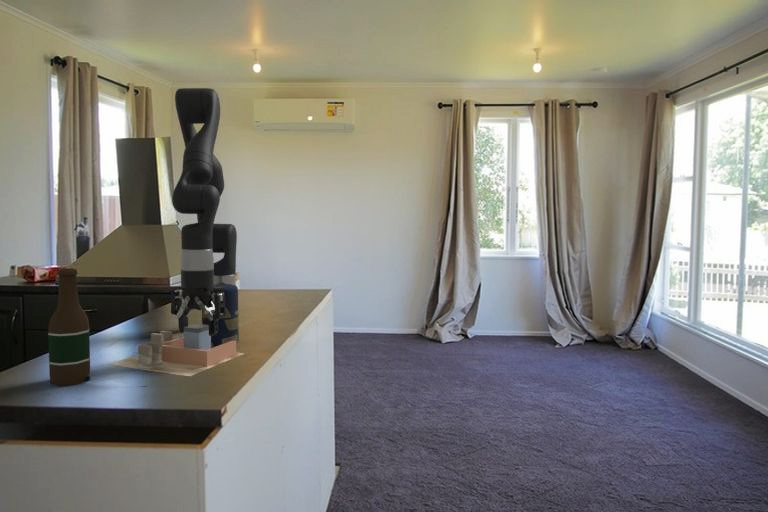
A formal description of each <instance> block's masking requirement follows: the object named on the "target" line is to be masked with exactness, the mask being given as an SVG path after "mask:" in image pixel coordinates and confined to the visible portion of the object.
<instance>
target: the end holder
mask: <svg viewBox="0 0 768 512" xmlns="http://www.w3.org/2000/svg"><path fill="white" fill-rule="evenodd" d="M239 353H240V352H239V351H237V344H236V341H230V342H227V343H224V344H222V345H219V346H216V347H211V349H208V350H202V349H194V348H186V347H184V335H183V336H180V337H177V338H174V339H173V338H172V340H170V341H167V342H163V343H162V361H166V362H174V363H181V364H189V365H196V366H204V367H208V366H211V365H213V364H216V363H218V362H221V361H223V360H226V359H228V358H230V357H233V356H235V355H238V354H239Z"/></svg>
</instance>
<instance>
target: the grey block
mask: <svg viewBox="0 0 768 512" xmlns="http://www.w3.org/2000/svg"><path fill="white" fill-rule="evenodd" d="M183 336H184V347H186V348H194V349H202V350H208V349H211V348H212V347H211V336H209V325H202V323H195V324H191V325H188V326H187V327H184V333H183Z"/></svg>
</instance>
